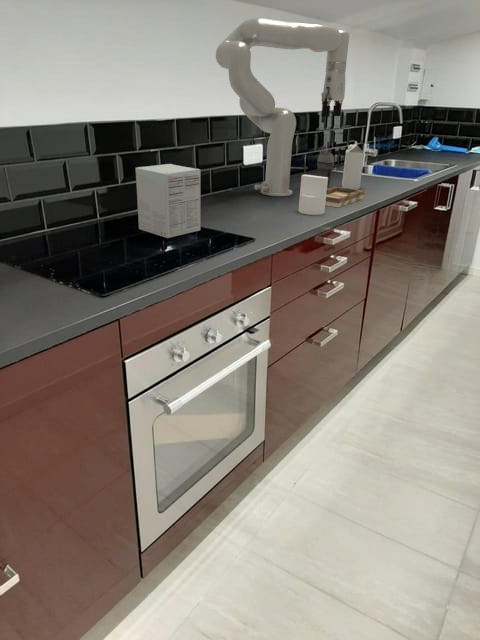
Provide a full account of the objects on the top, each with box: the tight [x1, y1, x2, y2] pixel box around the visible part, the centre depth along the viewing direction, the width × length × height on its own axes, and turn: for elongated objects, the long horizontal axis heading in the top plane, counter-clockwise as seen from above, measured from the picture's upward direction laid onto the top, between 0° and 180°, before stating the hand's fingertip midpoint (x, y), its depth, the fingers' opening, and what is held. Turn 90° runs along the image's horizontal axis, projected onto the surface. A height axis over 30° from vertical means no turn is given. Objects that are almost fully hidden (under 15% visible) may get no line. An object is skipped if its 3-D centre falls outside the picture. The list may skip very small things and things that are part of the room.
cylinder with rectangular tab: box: [298, 174, 328, 216], centre depth 169 cm, size 9×9×12 cm
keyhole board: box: [325, 185, 365, 208], centre depth 189 cm, size 22×13×3 cm, turn 144°
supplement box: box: [135, 163, 201, 239], centre depth 140 cm, size 13×13×18 cm
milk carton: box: [341, 141, 365, 190], centre depth 212 cm, size 7×7×19 cm
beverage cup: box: [316, 139, 336, 188], centre depth 203 cm, size 7×7×20 cm
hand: (330, 116), depth 195 cm, fingers open, 9 cm apart
